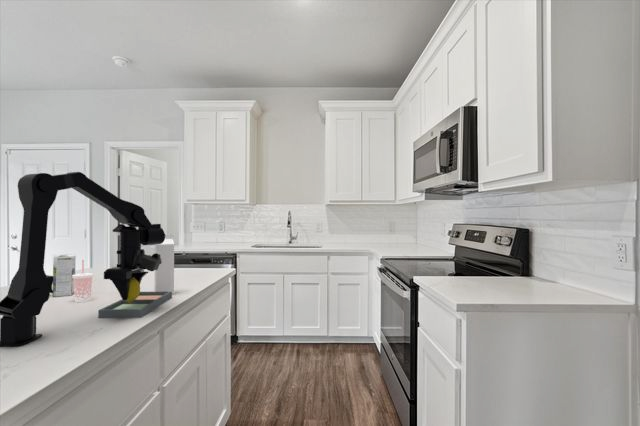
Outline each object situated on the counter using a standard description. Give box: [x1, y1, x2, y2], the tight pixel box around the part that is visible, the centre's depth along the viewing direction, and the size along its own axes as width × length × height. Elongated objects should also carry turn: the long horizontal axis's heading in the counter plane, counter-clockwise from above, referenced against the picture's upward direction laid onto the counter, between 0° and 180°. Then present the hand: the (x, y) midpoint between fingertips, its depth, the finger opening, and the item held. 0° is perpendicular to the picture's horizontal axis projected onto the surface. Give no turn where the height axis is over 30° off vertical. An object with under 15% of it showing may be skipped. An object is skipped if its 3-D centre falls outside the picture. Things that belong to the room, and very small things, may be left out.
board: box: [97, 291, 173, 319], centre depth 112 cm, size 24×12×2 cm, turn 3°
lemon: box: [119, 279, 141, 303], centre depth 106 cm, size 6×6×8 cm
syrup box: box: [52, 254, 77, 298], centre depth 128 cm, size 6×6×14 cm
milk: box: [154, 234, 175, 296], centre depth 130 cm, size 6×6×22 cm
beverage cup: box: [72, 259, 94, 303], centre depth 120 cm, size 6×6×14 cm
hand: (130, 297), depth 106 cm, fingers closed on lemon, 5 cm apart
